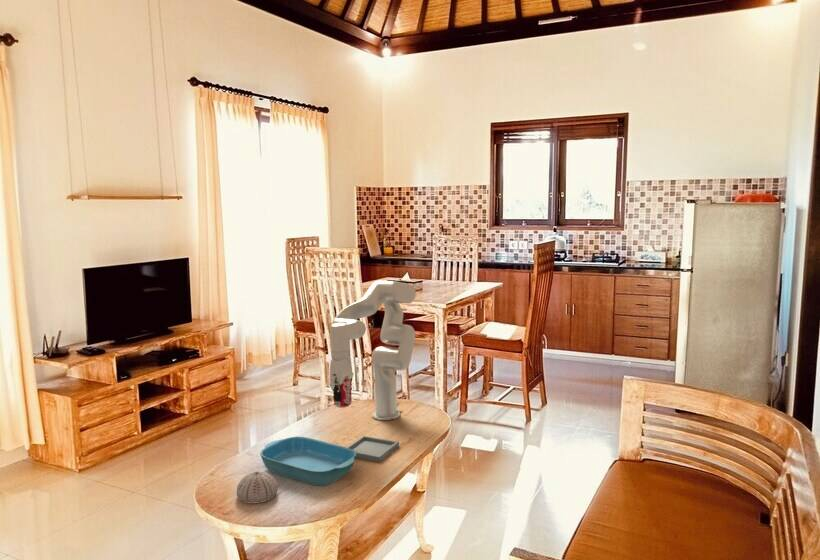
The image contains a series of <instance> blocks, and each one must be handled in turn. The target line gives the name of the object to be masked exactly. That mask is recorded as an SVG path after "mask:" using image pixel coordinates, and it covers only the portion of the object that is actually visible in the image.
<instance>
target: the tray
mask: <svg viewBox="0 0 820 560" xmlns="http://www.w3.org/2000/svg"><path fill="white" fill-rule="evenodd" d="M345 447H346V448H349V449H352V450H354V451H355V452H356V453H357V455H356V458H355V459H360V460H366V461H372V462H376V463H380V462H382V461H383V460H384V459H385V458H387V457H389V456H390V455H391V454H392V453H393V452H394V451H395V450H396V449H398V448H399V447H400V441H396V440H391V439H386V438H381V437H374V436H368V435H362V436H361V437H359V438H358V439H356V440H355V441H353V442H352V443H350V444H349V445H348V446H345Z"/></svg>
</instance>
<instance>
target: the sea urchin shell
mask: <svg viewBox="0 0 820 560" xmlns="http://www.w3.org/2000/svg"><path fill="white" fill-rule="evenodd" d="M278 485H279V483H278V481H277V479H276V478H275V477H274V476H273V475H272V474H270V473H269V472H266V471H261V470H256V471H253V472H251V473H248V474H247V475H245V476H244V477H243V478H242V479H240V481H239V482H238V484H237V486H236V491H235V493H236V496H237V499H238V500H239V501H241V500H242V501H241V502H243V503H245V502H261V503H263V502H266V501H265V500H267V501H269V500H271V499H272V498H274V497H275V495H276V494H277V493H278V490H279V486H278ZM268 499H269V500H268ZM262 501H263V502H262Z"/></svg>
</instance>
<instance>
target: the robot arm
mask: <svg viewBox="0 0 820 560" xmlns="http://www.w3.org/2000/svg"><path fill="white" fill-rule="evenodd" d="M416 295H417V294H416V289H415V287H414V286H413V284H410V283H405V282H402V281H401V282H400V281H394V280H376V281H374V282H373V283H372V284H371V285H370V286H369V288H368V289H367V291H365V292H364V294H363V296H362V297H361V298H360V299H359V300H357V301H355V302H353V303H352V304H349V305H347V306H345V307H344V308H342V309H341V310H340V311H339V312H338V313H337V315H336V316H335V318H333V320H332V322H331V325H330V327H329V328H330V330H329V334H330V337H329V338H330V354H331V355H330V357H331V360H330V364H329V387H330V388H331V390H332V393H333V402H334V401H339V402H340V401H341V391H340V388H341V384H342V383H343V381H344V378H347V377H349V378H350V380H351V386H353V385H352V383H353V382H352V381H353V377H354V372H353V365H352V358H351V340H355V339H360V338H363V336H364V335H365V334H366V332H367V331H366V329H367V328H366V324H365V323H364V322H363V321H362V320H359V319H363V318H367V317H370V316H373V315H375V314H376V313H377V311H378V310H379V309H380V308H381V306H382V304H383V307H384V317H383V321H382V325H381V329H380V335H379V337H380V341H381V342H382V343H384V344H385V345H386V346H382V345H381V346H378V347H376V348H375V349H373V351H372V354H371V361H372V362H371V363H372V365H373V374H374V405H375V410H374V411H372V414H371V416H372V418H373V419H374V420H378V421H390V420H391V419H393V420H396V419H398V418H399V417H400V416H401V413H400V412H401V411H400V410H398V409H397V408H398V407H399V406H400V402H399V401H397V376H396V373H395V371H405V370H407V369H408V368H409V367H410V363H411V361H412V355H413V351H414V345H415V341H416V331H415V329H414V327H413V326H412V325H411V324H406V323H405V324H404V323H403V320H404V311H403V308H402V307H401V305H400V304H411V303H413V302H414V300H415V299H416V297H417V296H416ZM387 345H392V346H387ZM393 346H398V347H393ZM394 370H395V371H394ZM336 381H337V382H338V383H335V382H336ZM336 385H338V388H337V387H336Z"/></svg>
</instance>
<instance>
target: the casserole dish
mask: <svg viewBox="0 0 820 560" xmlns="http://www.w3.org/2000/svg"><path fill="white" fill-rule="evenodd" d="M346 447H347V446H343V445H338V444H335V443H331V442H326V441H322V440H319V439H314V438H312V437H306V436H291V437H287V438H281V439H278V440H274V441H273V440H272V441H270V442H269V443H267V444H265V446H264V448H263V449H261V450H260V452H259V454H260V457H261V460H262V461H263V462H262V463H263V465H264V466H265V469H267V470H269V472H272V473H274V474H276V473H277V474H276V475H279V474H280V476H282V475H283V477H285V476H286V478H288V477H289V478H288V479H291V478H292V479H293V480H294V479H295V481H298V482H301V483H304V482H305V484H308V485H312V486H318V487H325V486H329V485H331V484H332V483H335V482H336V481H338V480H339V479H341V478H342V477H344V476H345V475H347V474H349V472H351V470H352V469H353V467H354V464H355V461H356V459H357V458H356V455H357V453H356V452H355V451H354V450H352V449H349V448H346Z"/></svg>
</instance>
